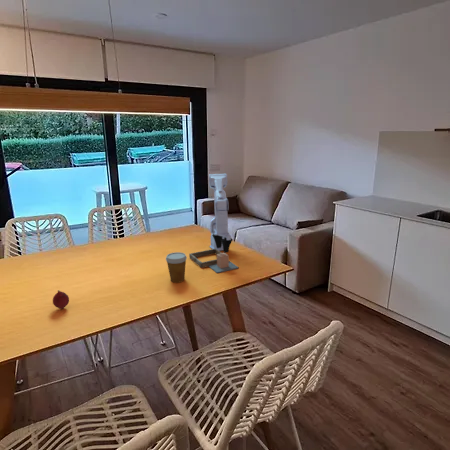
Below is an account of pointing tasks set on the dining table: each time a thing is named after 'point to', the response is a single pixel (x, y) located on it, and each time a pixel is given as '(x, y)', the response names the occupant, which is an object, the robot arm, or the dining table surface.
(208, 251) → the grey square frame
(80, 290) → the dining table surface
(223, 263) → the block
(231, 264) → the mat
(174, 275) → the disposable coffee cup
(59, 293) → the onion
